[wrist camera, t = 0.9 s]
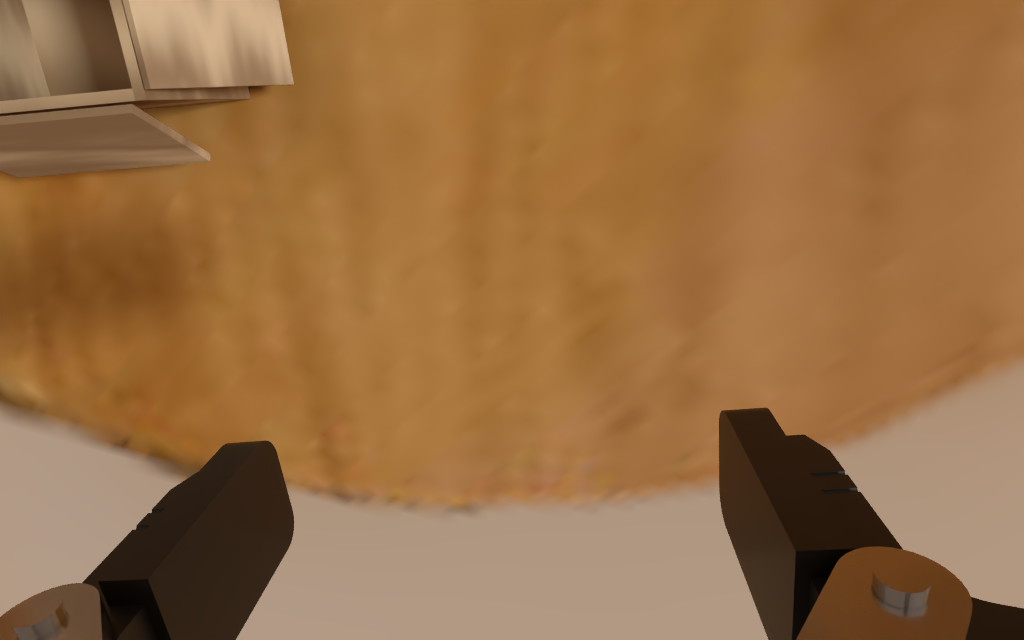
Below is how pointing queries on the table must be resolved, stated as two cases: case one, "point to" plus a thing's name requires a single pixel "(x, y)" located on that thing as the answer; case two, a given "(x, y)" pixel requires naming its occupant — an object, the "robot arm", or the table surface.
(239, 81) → the carton
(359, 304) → the table surface
